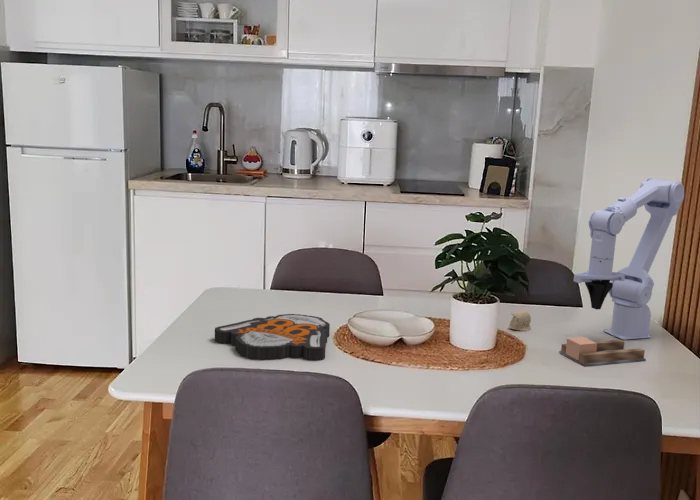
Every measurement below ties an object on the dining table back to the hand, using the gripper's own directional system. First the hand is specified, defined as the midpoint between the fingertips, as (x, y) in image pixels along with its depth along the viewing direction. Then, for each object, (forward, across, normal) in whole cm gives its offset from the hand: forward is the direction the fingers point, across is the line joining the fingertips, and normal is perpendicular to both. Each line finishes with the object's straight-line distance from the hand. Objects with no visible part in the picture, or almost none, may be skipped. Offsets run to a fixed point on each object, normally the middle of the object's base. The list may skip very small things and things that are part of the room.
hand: (596, 308), depth 185 cm
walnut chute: (+9, +5, +10) cm, 15 cm away
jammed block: (+9, +12, +10) cm, 18 cm away
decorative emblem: (+10, +79, -18) cm, 82 cm away
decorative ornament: (+10, +12, -15) cm, 22 cm away
